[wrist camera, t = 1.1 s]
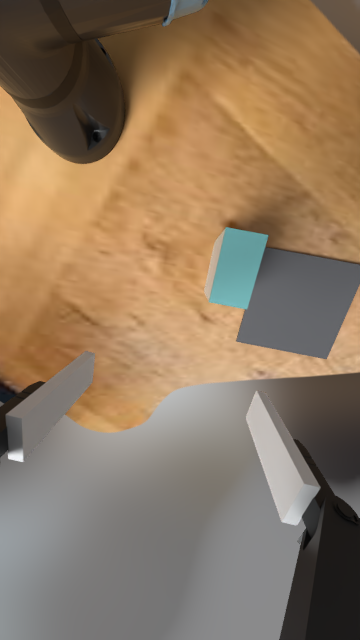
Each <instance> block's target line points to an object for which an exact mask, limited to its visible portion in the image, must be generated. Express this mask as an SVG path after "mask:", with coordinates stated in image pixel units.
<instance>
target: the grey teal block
mask: <svg viewBox="0 0 360 640" xmlns="http://www.w3.org/2000/svg"><path fill="white" fill-rule="evenodd" d="M267 239H268V235H265V234H260V233H255V232H249V231H244V230H238V229H233V228H228V227H226V228H225V229H224V231H223V232H222V233H221V234H220V236H219V237H218V238H217V239H216V241H215V243H214V247H213V252H212V257H211V261H210V266H209V271H208V275H207V280H206V284H205V289H204V292H205V294H206V297H207V299H208V301H209V302H211V303H216V304H222V305H227V306H232V307H237V308H242V309H247V308H248V305H249V301H250V298H251V294H252V291H253V287H254V284H255V280H256V277H257V273H258V270H259V267H260V263H261V260H262V256H263V253H264V249H265V246H266V242H267Z"/></svg>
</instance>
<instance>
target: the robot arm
mask: <svg viewBox="0 0 360 640" xmlns="http://www.w3.org/2000/svg"><path fill="white" fill-rule="evenodd" d="M207 2H208V0H0V86H1V87H2V88H3V89H4V90H5V91H6V92H7V93H8V94H9V95H10V96H12V98H13V99H14V101H15V102H16V104H17V105H18V107H19V108H20V109H21V111H22V112H23V113H24V115H25V117H26V119H27V121H28V122H29V124H30V126H31V127H32V129H33V130H34V132H35V133H36V135H37V136H38V137H39V138H40V139H41V140H42V141H43V143H45V144H46V145H47V146H48V147H49V148H50V149H51V150H53V151H54V152H55V153H56V154H57V155H59V156H60V157H62V158H64V159H66V160H68V161H70V162H74V163H79V164H86V163H92V162H95V161H97V160H99V159H101V158H103V157H104V156H105V155H107V154H108V153H109V152H110V151H111V149H112V148H113V147H114V145H115V144H116V142H117V140H118V138H119V136H120V134H121V131H122V127H123V123H124V116H125V102H124V94H123V90H122V86H121V83H120V80H119V77H118V75H117V72H116V70H115V67H114V65H113V62H112V60H111V58H110V56H109V55H108V53H107V51H106V50H105V48H104V47H103V45H102V44H101V43H100V42H99V40H98V39H97V38H101V37H105V36H110V35H114V34H118V33H123V32H127V31H131V30H136V29H140V28H144V27H149V26H153V25H157V24H162V26H168V25H169V24H170V23H171V21H172V20H174V19H177V18H179V17H182V16H186V15H189V14H192V13H195V12H198V11H199V10H201V9H202V8H203V7H204V6H205V5H206V4H207ZM94 359H95V353H92V352H88V351H85V352H84V353H83V354H81V355H80V356H79V357H78V358H76V359H75V360H74V361H72V362H71V363H70V364H69V365H67V366H66V367H65V368H64V369H62V370H61V371H60V372H59V373H57V374H56V375H55V376H54V377H52V378H51V379H50V380H49V381H47V382H41V381H39V382H36V383H34V384H32V385H30V386H28V387H27V388H25V389H24V390H23V391H22V392H20V393H19V394H17V395H16V396H15V397H13V398H12V399H10V400H9V401H8V402H6V403H5V404H4V405H3V406H1V407H0V457H1V456H2V455H3V454H4V453H5V452H6V451H7V450H8V458H9V459H13V460H17V461H21V462H24V461H25V460H26V458H27V457H28V456H29V455H30V454H31V453H32V451H33V450H34V449H35V448H36V447H37V446H38V445H39V443H40V442H41V441H42V440H43V439H44V438H45V437H46V435H47V434H48V433H49V432H50V431H51V430H52V428H53V427H54V426H55V425H56V424H57V423H58V421H59V420H60V419H61V418H62V417H63V415H65V413H66V412H67V411H68V410H69V409H70V408H71V406H72V405H73V404H74V403H75V402H76V401H77V399H78V398H79V397H80V396H81V395H82V394H83V393H84V391H85V390H86V389H87V388H88V387H89V386H90V384H91V383H92V380H93V370H94ZM246 420H247V423H248V426H249V429H250V432H251V435H252V438H253V440H254V444H255V446H256V449H257V452H258V455H259V458H260V461H261V464H262V467H263V470H264V472H265V475H266V478H267V481H268V484H269V487H270V490H271V492H272V496H273V498H274V501H275V504H276V507H277V510H278V513H279V516H280V519H281V521H282V522H284V523H288V524H293V525H297V524H298V523H299V521H300V520H301V518H302V519H303V521H304V524H305V526H306V529H305V530H304V532H303V534H302V535H301V537H300V538H299V540H298V543H299V544H300V543H301V545H300V550H299V555H298V559H297V563H296V568H295V573H294V577H293V581H292V586H291V591H290V595H289V599H288V604H287V609H286V613H285V617H284V622H283V626H282V630H281V635H280V639H279V640H360V518H359V517H358V516H357V514H356V512H355V511H354V510H353V509H352V508H351V507H350V506H349V505H348V504H347V503H346V502H345V501H344V500H342V499H341V498H339V497H337V496H335V495H334V493H333V491H332V490H331V488H330V487H329V485H328V483H327V482H326V480H325V478H324V477H323V475H322V473H321V472H320V470H319V469H318V467H316V464H315V462H314V461H313V459H312V458H311V456H310V454H309V452H308V451H307V449H306V448H305V447H304V446H303V445H302V444H301V443H300V442H299V441H298V440H295V439H292V437H291V435H290V433H289V432H288V430H287V428H286V427H285V425H284V423H283V421H282V420H281V418H280V416H279V415H278V413H277V411H276V409H275V407H274V406H273V404H272V402H271V400H270V399H269V397H268V395H267V394H266V392H262V391H256V393H255V395H254V398H253V400H252V403H251V405H250V408H249V410H248V413H247V415H246Z"/></svg>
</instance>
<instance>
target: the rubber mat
mask: <svg viewBox="0 0 360 640" xmlns="http://www.w3.org/2000/svg"><path fill="white" fill-rule="evenodd" d="M359 285H360V265H359V264H353V263H348V262H342V261H337V260H332V259H326V258H321V257H316V256H310V255H305V254H299V253H294V252H289V251H283V250H278V249H273V248H267V247H265V249H264V253H263V256H262V260H261V263H260V267H259V270H258V273H257V277H256V280H255V284H254V287H253V291H252V294H251V298H250V301H249V305H248V308H247V309H245V312H244V315H243V319H242V322H241V326H240V329H239V333H238V336H237V340H236V341H237V342H241V343H246V344H251V345H257V346H262V347H267V348H272V349H277V350H282V351H287V352H292V353H297V354H303V355H308V356H313V357H318V358H323V359H327V357H328V355H329V352H330V350H331V348H332V346H333V343H334V341H335V339H336V337H337V334H338V332H339V330H340V328H341V325H342V323H343V321H344V319H345V316H346V314H347V312H348V309H349V307H350V305H351V303H352V300H353V298H354V296H355V294H356V291H357V289H358V287H359Z"/></svg>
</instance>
